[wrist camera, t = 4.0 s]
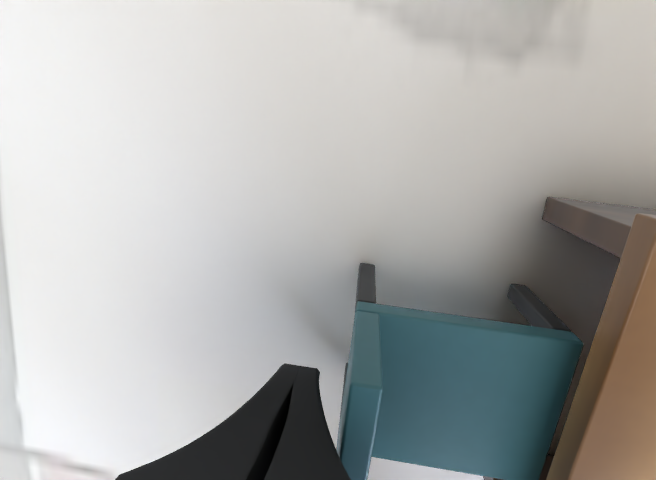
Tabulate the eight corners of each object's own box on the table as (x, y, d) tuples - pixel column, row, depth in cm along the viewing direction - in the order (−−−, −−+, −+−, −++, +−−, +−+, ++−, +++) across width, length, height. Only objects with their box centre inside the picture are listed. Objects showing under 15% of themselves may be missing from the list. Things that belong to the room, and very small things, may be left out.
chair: (344, 373, 19) (324, 564, 11) (360, 262, 18) (350, 382, 9) (495, 397, 19) (600, 618, 10) (526, 284, 17) (680, 436, 9)
